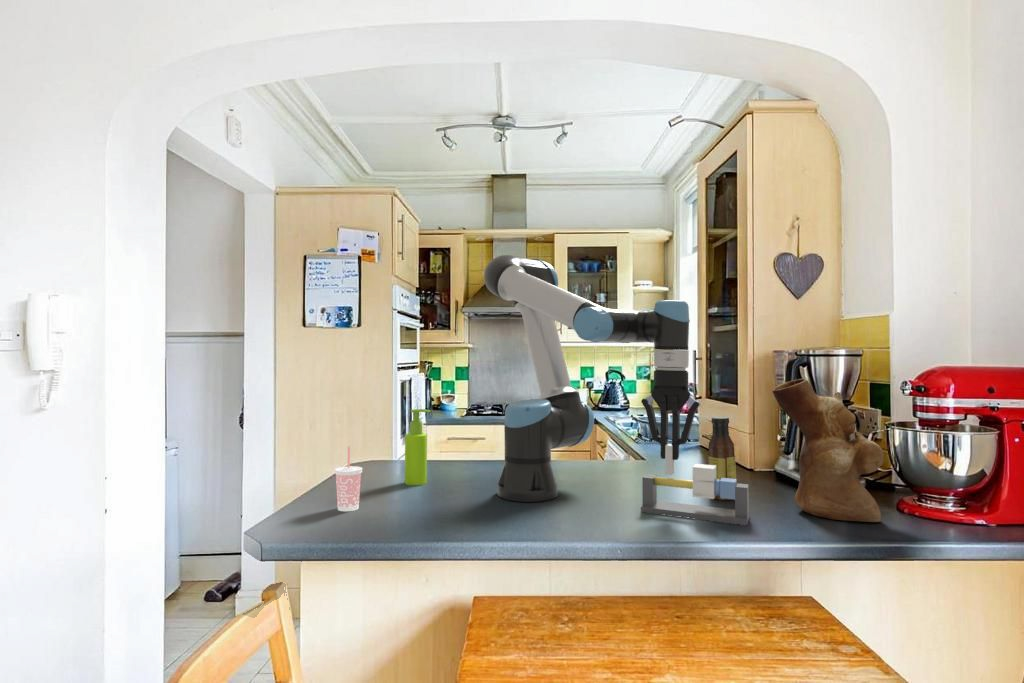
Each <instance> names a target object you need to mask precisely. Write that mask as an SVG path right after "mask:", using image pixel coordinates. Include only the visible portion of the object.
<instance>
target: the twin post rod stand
mask: <svg viewBox="0 0 1024 683" xmlns="http://www.w3.org/2000/svg"><path fill="white" fill-rule="evenodd" d="M641 482H642V483H641V484H642V489H641V490H642V504H641V506H640V513H644V512H647V513H646V514H652V513H656V514H655V515H659V514H665V515H664V516H667V515H672V516H671V517H675V516H681V517H680V518H683V517H689V518H688V519H690V518H695V519H694V520H698V519H701V520H700V521H706V520H709V521H708V522H714V521H717V522H716V523H722V522H724V523H723V524H729V523H731V524H732V525H737V524H740V525H739V526H745V525H747V526H748V523H749V519H750V509H749V507H750V506H749V504H750V503H749V498H750V496H749V495H750V494H749V492H750V490H749V489H750V487H749V484H748V483H747V484H746V483H738V482H737V478H736V479H730V478H721V480H720V479H715V483H714V494H715V495H718V496H720V498H725V499H734V502H735V503H734V509H731V508H723V507H715V506H706V505H705V506H704V505H697V504H689V503H680V502H674V501H673V502H670V501H665V500H664V501H663V500H657V498H658V497H657V495H658V494H657V492H658V490H657V488H658V487H657V486H662V487H663V486H664V487H671V488H679V489H690V490H693V479H691V480H690V479H689V480H688V479H682V478H681V479H680V478H669V477H661V476H659V477H658V476H657V475H656V474H655V475H654V474H647V473H646V474H645V475H643V476H642V481H641Z"/></svg>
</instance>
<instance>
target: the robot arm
mask: <svg viewBox="0 0 1024 683" xmlns="http://www.w3.org/2000/svg"><path fill="white" fill-rule="evenodd" d="M483 272H484V273H483V279H484V280H483V281H484V284H485V286H486V288H487V289H488V291H489V292H490V293H492V294H493V295H495V296H497V297H498V298H501V299H503V300H505V301H508V302H511V301H513V302H512V303H513V307H514V310H516V311H517V312H519V313H520V314H521V317H522V321H523V325H524V330H525V333H526V337H527V342H528V346H529V350H530V354H531V358H532V362H533V367H534V371H535V375H536V379H537V380H536V381H537V383H538V388H539V392H540V395H539V397H538V398H531V399H522V400H517V401H514V402H511V403H510V404H508V405H507V406H506V407H505V411H504V420H503V424H504V427H503V428H504V464H503V467H502V470H501V474H500V476H499V480H498V483H497V493H496V494H497V496H498V497H499V498H501V499H503V500H507V501H512V502H519V503H520V502H521V503H522V502H523V503H534V502H535V503H536V502H546V501H550V500H553V499H556V498H557V497H558V496H559V490H558V489H559V486H558V482H557V479H556V477H555V476H556V475H555V474H554V470H553V467H552V461H551V460H552V458H551V457H552V450H554V449H560V448H565V447H568V448H572V447H573V446H576V445H581V444H583V443H585V442H586V441H587V440H588V439H589V438H590V437H591V434H592V432H593V431H594V426H595V415H594V412H593V410H592V408H591V407H590V406H589V405H587V403H586V402H584V401H582V400H581V396H580V392H579V391H578V390H577V389H575V388H573V387H572V384H571V380H570V376H569V372H568V369H567V368H568V367H567V364H566V360H565V357H564V351H563V348H562V343H561V339H560V337H559V333H558V327H557V325H556V322H557V323H560V324H561V325H564V326H565V327H568V328H569V329H571V330H573V331H575V333H576V334H577V337H578V338H580V339H581V340H583V341H586V342H587V341H589V342H592V343H600V342H601V343H604V342H605V343H606V342H607V343H616V342H617V343H621V344H624V343H625V344H630V343H650V344H651V343H653V344H654V345H653V346H654V347H653V349H654V350H653V367H655V368H656V369H654V371H653V388H652V391H651V392H650V395H649V396H647V397H645V398H642V399H641V403H642V406H643V408H644V409H645V411H646V412H645V413H646V415H647V416H646V417H647V421H648V425H649V429H650V434H651V440H652V441H654V442H656V443H658V444H659V445H660V458H661V459H662V460H663V459H664V475H666V476H673V475H674V473H675V461H677V460H679V458H680V446H681V445H683V444H686V443H687V442H688V440H689V437H690V433H691V429H692V427H693V426H692V425H693V422H694V418H695V414H696V411H697V410H698V408H699V407H700V406H701V401H700V400H696V399H695V398H693V397H692V396H691V392H690V390H689V371H688V370H686V369H688V368H689V356H690V353H689V352H690V350H689V336H690V329H689V328H690V322H691V320H690V311H689V310H690V306H689V304H688V302H687V301H684V300H678V299H677V300H674V299H672V300H670V299H669V300H667V299H666V300H664V299H663V300H657V301H656V302H655V303H654V308H653V309H652V310H628V309H627V310H626V309H618V308H616V309H615V308H609V307H604V306H601V305H599V304H597V303H595V302H592V301H591V300H588V299H586V298H584V297H581V296H579V295H577V294H575V293H572V292H570V291H567V290H565V289H563V288H561V287H559V277H558V274H557V272H556V270H555V268H554V267H553V266H552V264H550V263H548V262H546V261H543V260H541V259H538V258H527V257H522V256H515V255H510V254H503V255H502V254H501V255H498V256H496V257H494V258H492V260H490V261H489V262H488V263H487V265H486V267H485V269H484V271H483ZM654 402H655V403H656V405H657V406H658V408H659V409H660V432H659V427H658V424H657V423H658V422H657V418H656V415H655V409H654V406H653V405H654ZM686 404H687V406H688V408H689V409H688V411H687V413H686V414H687V415H686V418H685V422H684V426H683V429H682V433H681V432H680V430H681V429H680V428H681V425H680V424H681V423H680V422H681V419H680V418H681V409H682V408H684V406H685V405H686ZM670 411H671V414H672V419H671V420H672V427H671V429H672V431H671V432H672V433H671V443H668V442H669V413H670ZM680 433H681V437H680Z"/></svg>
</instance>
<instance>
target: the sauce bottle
mask: <svg viewBox="0 0 1024 683" xmlns="http://www.w3.org/2000/svg"><path fill="white" fill-rule="evenodd" d="M729 423H730V418H729V417H727V416H712V417H711V424H712V436H711V438H710V440H709V442H708V453H707V454H708V455H707V456H708V465H716V479H720V480H721V478H730V479H737V472H736V470H737V468H736V455H735V443H734V441H733V440H732V438H731V436H730V431H729ZM714 499H715V500H717V499H718V500H719V501H733V500H734V499H725V498H720V496H718V495H716V496H715V498H714ZM734 501H735V500H734Z"/></svg>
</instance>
